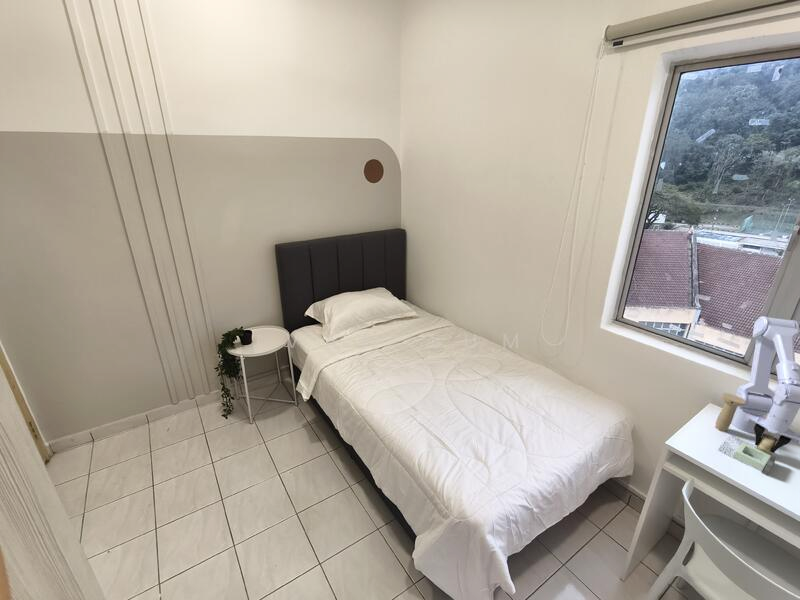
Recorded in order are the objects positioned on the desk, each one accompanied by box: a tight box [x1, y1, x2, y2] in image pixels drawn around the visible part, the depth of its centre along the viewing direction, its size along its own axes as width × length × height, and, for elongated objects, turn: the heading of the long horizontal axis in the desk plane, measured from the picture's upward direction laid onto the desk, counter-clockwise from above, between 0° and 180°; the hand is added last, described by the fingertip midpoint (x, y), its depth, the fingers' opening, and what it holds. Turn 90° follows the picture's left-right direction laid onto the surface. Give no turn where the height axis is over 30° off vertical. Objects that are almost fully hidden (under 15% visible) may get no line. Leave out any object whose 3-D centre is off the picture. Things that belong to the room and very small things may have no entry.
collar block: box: [732, 442, 772, 472], centre depth 124 cm, size 7×7×2 cm
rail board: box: [717, 434, 779, 476], centre depth 127 cm, size 14×13×5 cm
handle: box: [714, 392, 746, 433], centre depth 136 cm, size 5×6×15 cm
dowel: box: [755, 433, 778, 456], centre depth 126 cm, size 4×4×7 cm
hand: (764, 447), depth 127 cm, fingers closed on dowel, 4 cm apart
